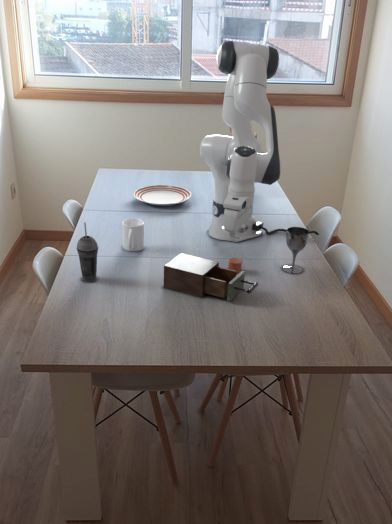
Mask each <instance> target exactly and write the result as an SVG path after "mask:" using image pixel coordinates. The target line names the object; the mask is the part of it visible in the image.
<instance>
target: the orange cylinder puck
mask: <svg viewBox="0 0 392 524" xmlns="http://www.w3.org/2000/svg"><path fill="white" fill-rule="evenodd" d="M227 269H230V270H234V271H237V275H238V274H239V273H240V272H241V271H243V270H242V269H243V260H242V258H238V257H231V258H228V262H227Z"/></svg>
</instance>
